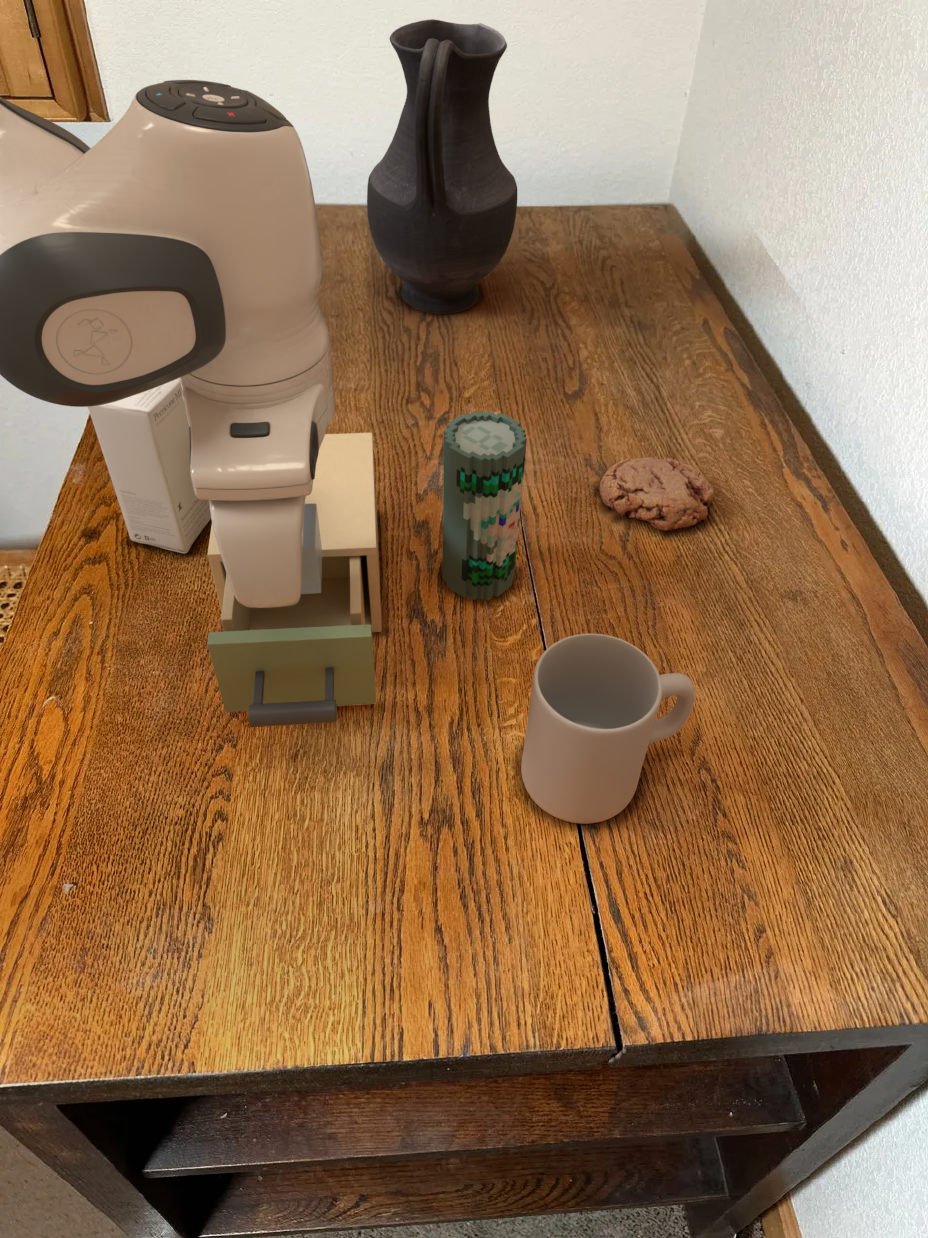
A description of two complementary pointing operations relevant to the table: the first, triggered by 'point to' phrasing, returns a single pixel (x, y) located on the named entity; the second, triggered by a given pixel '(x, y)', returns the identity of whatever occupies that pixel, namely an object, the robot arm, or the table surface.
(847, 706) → the table surface
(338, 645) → the drawer
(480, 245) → the pitcher
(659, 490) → the cookie
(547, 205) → the table surface
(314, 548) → the block
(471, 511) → the can
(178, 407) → the cosmetic box
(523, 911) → the table surface
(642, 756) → the mug
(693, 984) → the table surface
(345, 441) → the cabinet
